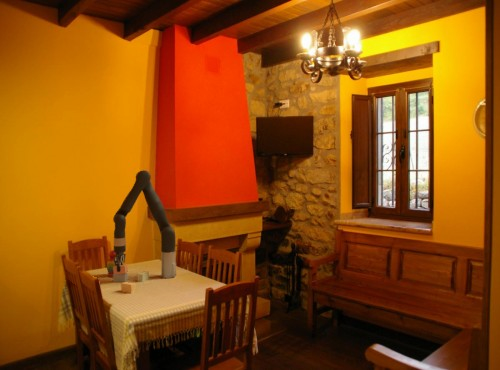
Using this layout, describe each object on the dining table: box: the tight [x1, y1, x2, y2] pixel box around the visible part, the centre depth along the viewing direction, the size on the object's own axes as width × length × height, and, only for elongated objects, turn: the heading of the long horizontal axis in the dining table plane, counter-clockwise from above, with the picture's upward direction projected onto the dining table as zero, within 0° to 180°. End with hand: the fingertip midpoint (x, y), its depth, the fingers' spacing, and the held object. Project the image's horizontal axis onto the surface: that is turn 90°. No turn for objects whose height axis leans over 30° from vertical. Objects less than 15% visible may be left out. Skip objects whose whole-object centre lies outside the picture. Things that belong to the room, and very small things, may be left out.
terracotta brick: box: [113, 264, 129, 274], centre depth 263 cm, size 8×4×5 cm, turn 84°
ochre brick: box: [120, 281, 137, 294], centre depth 241 cm, size 8×4×5 cm, turn 64°
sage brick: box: [137, 270, 150, 283], centre depth 266 cm, size 8×4×5 cm, turn 165°
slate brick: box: [112, 272, 128, 283], centre depth 263 cm, size 8×4×5 cm, turn 85°
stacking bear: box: [106, 249, 116, 278], centre depth 278 cm, size 11×10×18 cm
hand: (119, 270), depth 263 cm, fingers closed on terracotta brick, 3 cm apart
